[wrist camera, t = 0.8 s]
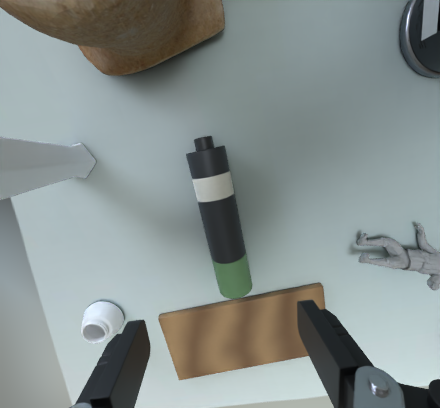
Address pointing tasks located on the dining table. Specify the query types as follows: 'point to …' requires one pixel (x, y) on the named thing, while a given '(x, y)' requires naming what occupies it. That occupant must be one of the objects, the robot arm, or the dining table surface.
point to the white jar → (101, 321)
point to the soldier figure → (406, 256)
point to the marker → (220, 217)
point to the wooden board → (237, 332)
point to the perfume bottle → (39, 164)
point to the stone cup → (123, 28)
